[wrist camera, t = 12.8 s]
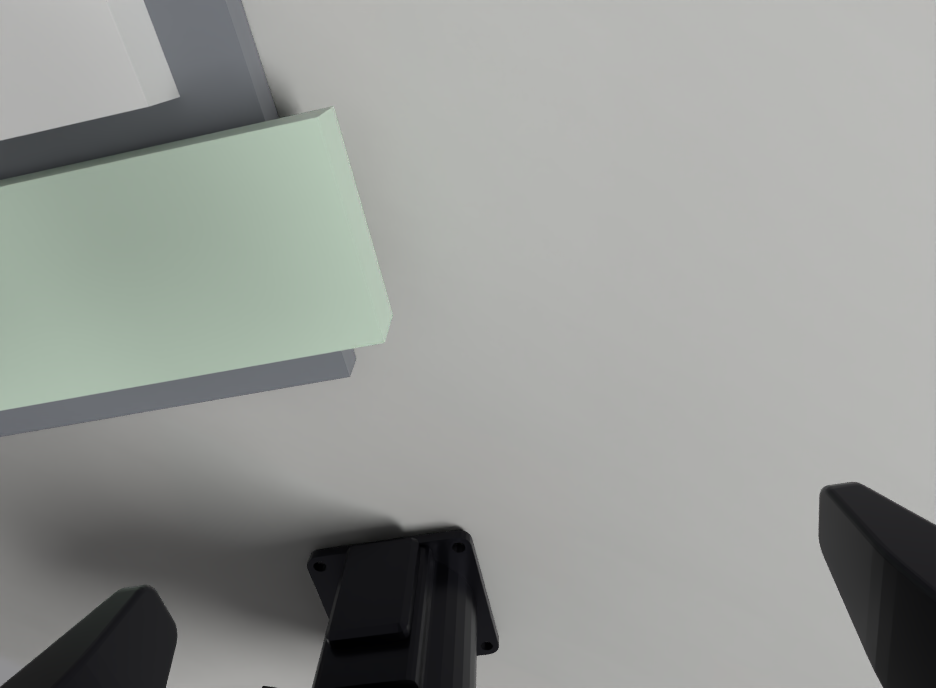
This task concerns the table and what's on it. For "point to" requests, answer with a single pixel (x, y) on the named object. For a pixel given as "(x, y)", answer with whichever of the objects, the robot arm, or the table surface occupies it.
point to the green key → (185, 262)
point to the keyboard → (133, 138)
